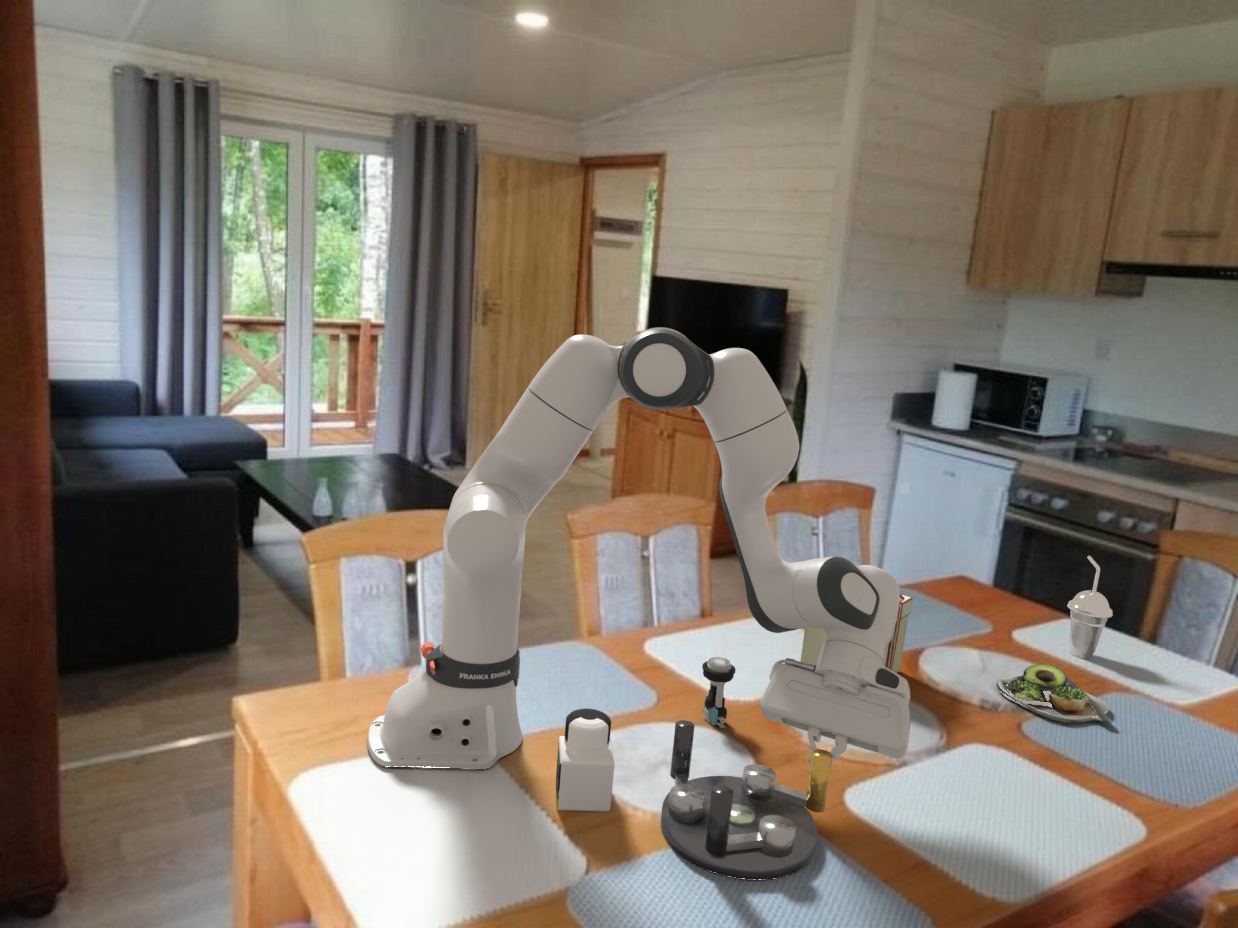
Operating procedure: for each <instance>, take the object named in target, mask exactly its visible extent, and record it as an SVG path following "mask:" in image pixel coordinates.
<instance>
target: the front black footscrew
mask: <svg viewBox="0 0 1238 928" xmlns="http://www.w3.org/2000/svg"><path fill="white" fill-rule="evenodd" d="M732 801H733V790H732V789H730V788H729V787H726V786H722V785H718V786H714V787H713V788H712V791H711V800H710V808H709V817H708V826H707V835H706V843H705V849H706V850H707V851H708V852H709V853H711V854H714V855H722V854H724V853H726V851H734V850H743V849H751V848H760V849H761V850H762V851H763V852H764V853H766V854H768V855H771V856H776V857H784V856H788V855H790V854H791V853H792V851H793V846H794V839H795V831H796V827H795V825H794V823H793V822H792V821H790V820H789V819H787V818H785V817H782V816H777V815H768V816H765V817H763V818H762V819H761V820H760V824H759V832H755V833H746V834H737V835H728V834H729V826H730V818H731V809H732Z"/></svg>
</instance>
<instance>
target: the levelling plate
mask: <svg viewBox="0 0 1238 928" xmlns="http://www.w3.org/2000/svg"><path fill="white" fill-rule="evenodd" d="M742 779H743V777H739V776H732V775H708V776H703V777H702V776H701V777H697V778H691V779H688V781H689V784H690V785H694V786H696V787H698V788H700V789H701V790H702V791H703V792H704V804H703V813H702V818H701V819H700V820H699V821H697V822H693V823H684V822H680V821H677V820H675V819H673V818H672V817H671V816H670V815H669V812H668V809H669V799H670V791H668V793H667V794H666V795H665V797H664V799H663V802H662V806H661V815H660V828H661V832H662V835H663V837H664V839H665V841H666V843H667V844H668V846H669V847H671V849H672V850H673V851H674V852H675V853H676V854H677V855H679V856H680V857H681V858H683V859H684V860H686V861H688V863H690V864H692V865H694V864H695V865H694V866H695V867H697V866H698V867H697V868H699V867H702V868H704V869H706V870H709V871H712V872H716V873H718V874H721V875H725V876H731V877H736V878H740V879H739V880H741V878H745V879H756V880H755V881H759V880H758V879H762V880H761V881H764V880H763V879H772V880H774V879H773V878H778V879H782V878H784V877H783V876H786V875H789V876H791V875H793V874H792V873H794V874H796V873H798V872H799V871H801V870H803V869H804V868H805V867H806V866H807V865H808V864H809V863H810V862H811V861H812V858H813V857H814V854H815V850H816V849H815V848H816V843H817V835H818V828H817V824H816V820H815V819H814V817H813V814H812V813H810V810H808V809H807V808H806V807H804V806H801V805H798V804H796V803H793V802H790V801H787V800H784V799H781V798H778V797H775V796H773V797H772V798H771V799H768V800H755V799H751V798H749V797H747V796H746V795H744V794H743V792H742V790H741V787H742ZM718 785H722V786H726V787H729V788H730V789H732V790H733V801H732V809H731V818H730V826H729V834H728V835H737V834H746V833H755V832H759V824H760V820H761V819H762V818H763V817H765V816H768V815H777V816H782V817H785V818H787V819H789V820H790V821H792V822H793V823H794V825H795V827H796V831H795V839H794V846H793V851H792V853H791V854H790V855H788V856H784V857H776V856H771V855H768V854H766V853H764V852H763V851H762V850H761V849H760V848H751V849H743V850H734V851H726V853H724V854H722V855H714V854H711V853H709V852H708V851H707V850H706V849H705V843H706V835H707V826H708V817H709V808H710V800H711V791H712V788H713V787H714V786H718ZM702 868H701V869H702ZM704 869H703V870H704ZM706 870H705V871H706ZM709 871H708V872H709ZM712 872H711V873H712ZM721 875H720V876H721ZM725 876H724V877H725ZM779 877H780V878H779ZM781 877H782V878H781ZM786 877H787V876H786Z"/></svg>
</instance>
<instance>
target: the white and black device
mask: <svg viewBox="0 0 1238 928" xmlns="http://www.w3.org/2000/svg"><path fill="white" fill-rule="evenodd" d="M611 730H612V720H611V718H610V717H609V716H608V714H606V713H605V712H603V711H600V710H598V709H594V708H579V709H576V710H573V711H571V712H570V713H569V714H568V715H566V717H565V727H564V735H560V736H559V737H558V748H557V759H556V762H557V763H556V770H555V772H556V775H555V802H556V803H555V805H556V809H557V810H558V811H573V812H600V813H601V812H604V813H605V812H606V813H607V812H611V808H612V807H611V805H612V794H613V785H614V774H615V760H614V753H613V745H612V740H611Z"/></svg>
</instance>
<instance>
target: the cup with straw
mask: <svg viewBox="0 0 1238 928" xmlns="http://www.w3.org/2000/svg"><path fill="white" fill-rule="evenodd" d="M1087 559H1088V561H1089V562H1090V563H1091V564H1092V565H1093V567H1094V568H1095V570H1096V571H1095V575H1094V580H1093V586H1092V590H1091V589H1089V590H1083V591H1080V592H1078V593H1076V595H1075V596H1073V598H1072V599H1071V600H1069V601H1068V603H1067V605H1066V607H1067V608H1068V609H1070V611H1069V612H1070V613H1069V615H1070V632H1069V634H1070V636H1069V651H1068V653H1069V654H1070V655H1072V656H1074V657H1077V658H1078V659H1086V660H1090V659H1091V660H1092V659H1093V658H1094V654H1095V653H1096V650H1097V647H1098V643H1099V641H1100V638H1101V635H1102V631H1103V629H1104V627H1105V626H1106V623H1107V621H1108V619H1109V618H1112V617H1113V615H1114V613H1113V609H1112V608H1110V604H1109V601H1108V599H1107V598H1106V597H1105V596H1104V595H1103V594H1102V593H1100V592H1098V591H1097V590H1098V589H1097V588H1098V584H1099V578H1100V573H1101V567H1100V565H1099V564H1098V563H1097V562H1096V561H1095V560H1094V558H1093V557H1092V556H1091V555H1088V556H1087Z"/></svg>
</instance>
